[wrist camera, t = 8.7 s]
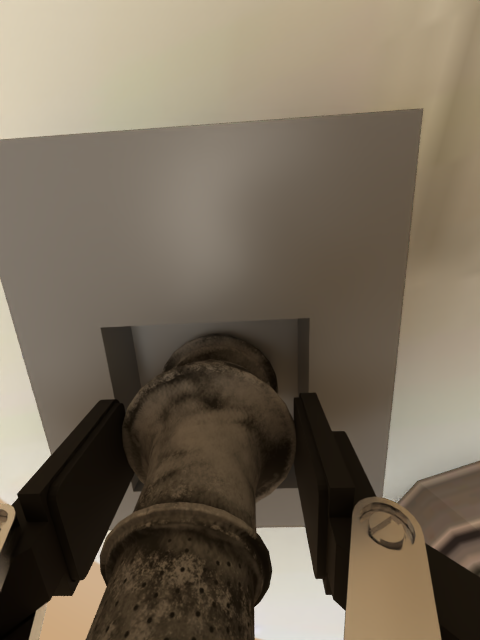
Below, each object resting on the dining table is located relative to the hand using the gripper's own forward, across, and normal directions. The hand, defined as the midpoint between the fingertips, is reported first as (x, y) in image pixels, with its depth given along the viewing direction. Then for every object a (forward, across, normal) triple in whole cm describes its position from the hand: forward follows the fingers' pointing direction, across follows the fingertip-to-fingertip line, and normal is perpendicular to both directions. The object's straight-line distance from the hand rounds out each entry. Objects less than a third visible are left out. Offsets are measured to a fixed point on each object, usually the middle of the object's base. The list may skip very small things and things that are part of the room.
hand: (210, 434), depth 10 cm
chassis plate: (+4, 0, -2) cm, 5 cm away
